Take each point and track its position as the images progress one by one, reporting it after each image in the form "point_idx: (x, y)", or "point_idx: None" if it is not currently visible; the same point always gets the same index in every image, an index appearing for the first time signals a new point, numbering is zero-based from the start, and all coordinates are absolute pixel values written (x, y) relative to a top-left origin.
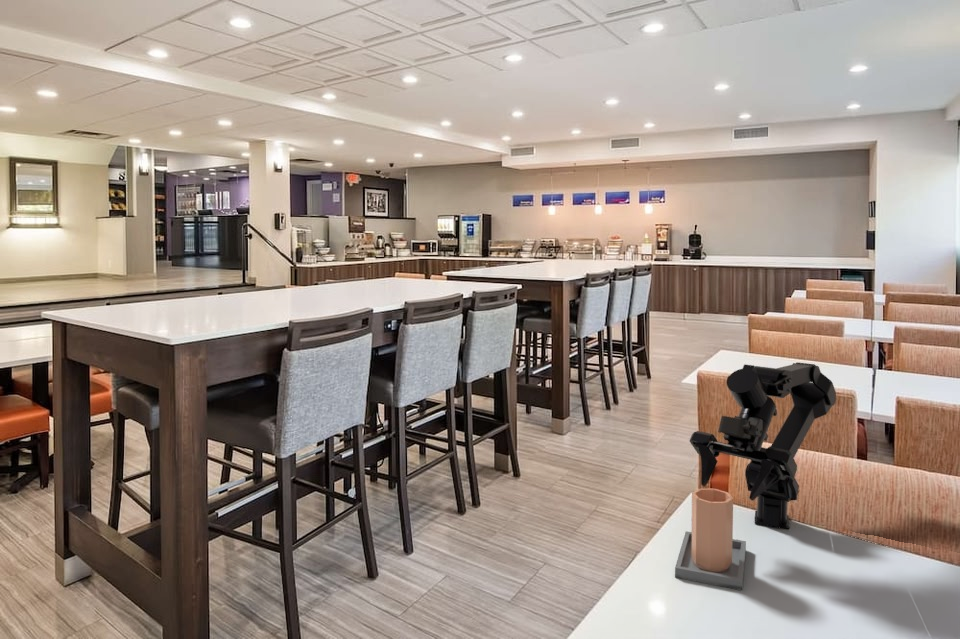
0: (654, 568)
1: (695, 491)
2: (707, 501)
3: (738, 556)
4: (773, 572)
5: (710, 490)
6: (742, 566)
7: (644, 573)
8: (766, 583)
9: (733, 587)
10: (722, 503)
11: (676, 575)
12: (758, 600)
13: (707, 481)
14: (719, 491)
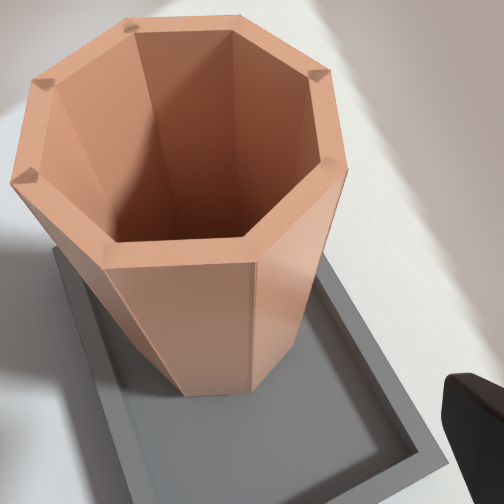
0: (351, 192)
1: (330, 105)
2: (156, 22)
3: (162, 475)
4: (8, 494)
5: (262, 220)
6: (87, 341)
7: (350, 150)
8: (11, 381)
9: None
10: (58, 69)
11: None
12: (8, 258)
13: (475, 488)
14: (181, 243)
